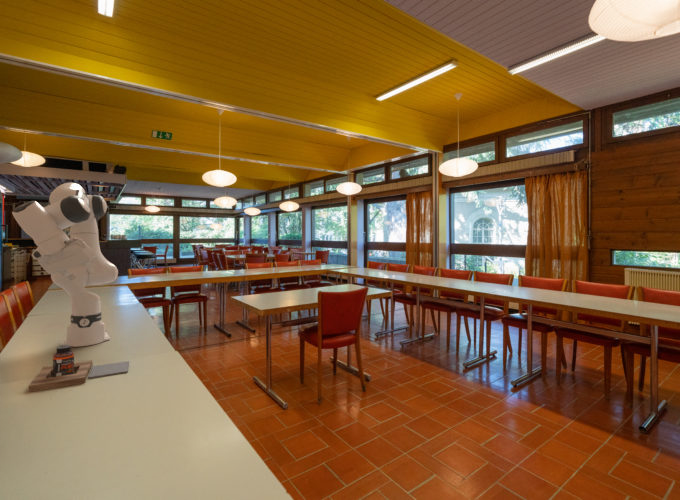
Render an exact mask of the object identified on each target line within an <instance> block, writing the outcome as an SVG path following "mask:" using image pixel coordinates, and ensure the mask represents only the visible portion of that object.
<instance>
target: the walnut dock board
mask: <svg viewBox="0 0 680 500" xmlns="http://www.w3.org/2000/svg"><path fill="white" fill-rule="evenodd" d="M92 367H93V359H92V360H82V361H78V362H77V361H76V362H75V361H74V374H70V375H64V376H57V377H53V365H49V366H48V365H46V366H43V367H42V368H41V369H40V370H39V372H38V373H37V375H36V376H35V377H34V378H33V380H32V381H31V382H30V383H29V385H28V392H29V393H31V392H35V391H42V390H43V391H44V390H49V389H54V388H55V389H56V388H59V387H60V388H61V387H66V386H73V385H79V384H85V383H86V381H87V379H88V377H89V375H90V372H91V370H92ZM51 376H52V377H51Z"/></svg>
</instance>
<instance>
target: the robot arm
mask: <svg viewBox="0 0 680 500" xmlns="http://www.w3.org/2000/svg"><path fill="white" fill-rule="evenodd" d="M107 209H108V204H107V201H106V200H105V198H104V197H103V196H101V195H98V194H93V195H91V194H86V190H85V189H84V188H83V187H82V186H81V185H80V184H79V183H75V182H65V183H62V184H60V185H58V186H57V187H56V188H54V189H53V190H52V191H51V193H50V195H49V199H48V203H47V205H46V206H42V205H41V204H40V203H39V202H37V201H36V200H31V201H29V200H28V201H27V202H24V203H21V204H20V205H18V206H16V207H15V208H13V210H12V212H11V214H12V216H13V218H14V219H15V221H16V222H17V224H18V225H19V227H20V228H21V229H22V230H23V232H24V233H25V234H26V235H28V236H29V237H30V238H31V239H32V240H33V242H34V244H35V246H37V247H36V249H35V250H34V251H33V252H32V253H31V257H32V258H33V259H35V260H37V262H38V264H39V265H40V266H41V268H43V270H44V272H45V271H46V273H48V274H50V279H51V281H52V283H53V284H54V285H56V286H57V287H60V288H61V289H63V290H64V291H65V292H66V293H67V294H68V297H69V299H70V303H71V305H70V306H71V315H70V324H69V325H68V326H66V333H65V335H66V337H65V340H64V341H63V342H61V345H60V346H64V345H70V346H71V347H85V346H86V347H87V346H92V345H97V344H100V343H103V342H106V341H109V340H111V337H110V335H109V334H108V332H107V330H106V324H105V323H104V322H103V321H102V317H103V315H102V311H101V297H100V296H99V295H98V294H97V293H94V292H92V291H88V290H87V289H86V288H85V287H86V286H96V285H97V286H98V285H105V284H111V283H114V282H115V281H116V280H117V278H118V276H119V269H118V268H117V266H116V265H115V264H114V263H112V262H110V261H109V260H108V259H107V258H106V257H105V256H104V254H103V253H102V252H101V246H100V239H99V238H100V237H99V228H98V222H97V221H99V220H100V219H102V217H104V216H105V215H106V212H107ZM68 228H70V229H69V231H70V232H69V233H70V234H69V235H70V237H69V236H68V235H67V234H66V232H65V231H64V230H65V229H68Z"/></svg>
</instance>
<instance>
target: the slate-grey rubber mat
mask: <svg viewBox="0 0 680 500" xmlns="http://www.w3.org/2000/svg"><path fill="white" fill-rule="evenodd" d="M129 366H130V360H126V361H119V362H113V363H106V364H100V365H99V364H97V365H92V367H91V369H90V372H89V374H88V377H87V379H88V380H89V379H90V380H91V379H95V378H96V379H97V378H101V377H102V378H103V377H109V376H115V375H120V374H127V373H129Z"/></svg>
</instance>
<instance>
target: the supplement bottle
mask: <svg viewBox="0 0 680 500" xmlns="http://www.w3.org/2000/svg"><path fill="white" fill-rule="evenodd" d="M74 363H75V352H74V351H73V350H72V346H70V345H59V346H57V347H56V352H55V353H54V354H53V355H52V366H53V375H52V377H57V376H64V375H70V374H75V372H74Z"/></svg>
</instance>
